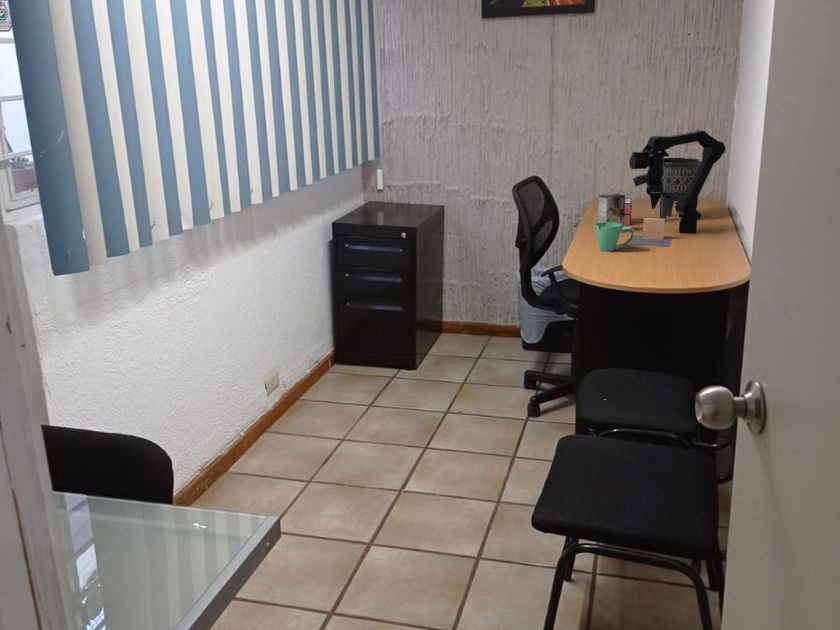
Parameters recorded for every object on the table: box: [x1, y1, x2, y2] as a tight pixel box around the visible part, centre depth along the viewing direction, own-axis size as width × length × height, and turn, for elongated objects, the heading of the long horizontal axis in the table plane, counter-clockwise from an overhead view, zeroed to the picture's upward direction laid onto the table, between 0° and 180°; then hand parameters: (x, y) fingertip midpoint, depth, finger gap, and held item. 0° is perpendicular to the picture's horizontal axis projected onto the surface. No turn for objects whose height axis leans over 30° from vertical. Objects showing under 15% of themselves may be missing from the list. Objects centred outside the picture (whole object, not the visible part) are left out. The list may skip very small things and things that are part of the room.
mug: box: [594, 222, 635, 253], centre depth 311 cm, size 15×10×10 cm
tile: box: [642, 217, 666, 240], centre depth 327 cm, size 8×2×8 cm, turn 71°
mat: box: [626, 235, 673, 248], centre depth 324 cm, size 16×18×1 cm
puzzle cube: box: [624, 198, 633, 226], centre depth 361 cm, size 10×10×10 cm
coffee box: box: [597, 193, 626, 233], centre depth 341 cm, size 9×6×16 cm
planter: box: [659, 157, 702, 222], centre depth 363 cm, size 20×20×26 cm
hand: (653, 206), depth 332 cm, fingers open, 9 cm apart
